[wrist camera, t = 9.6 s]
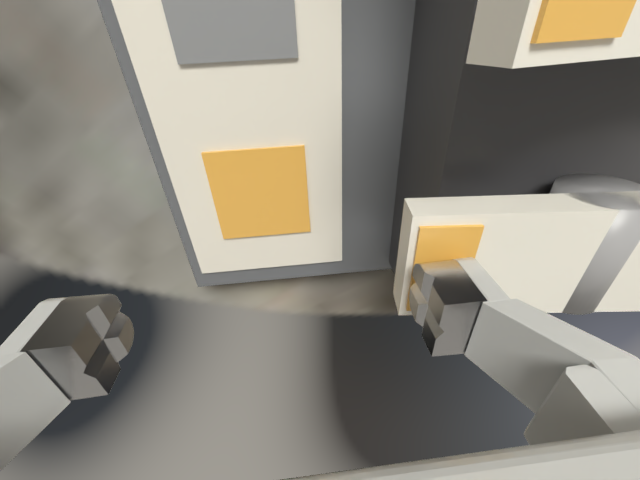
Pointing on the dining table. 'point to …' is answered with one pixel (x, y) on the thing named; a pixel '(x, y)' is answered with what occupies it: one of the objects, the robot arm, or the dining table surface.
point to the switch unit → (347, 124)
